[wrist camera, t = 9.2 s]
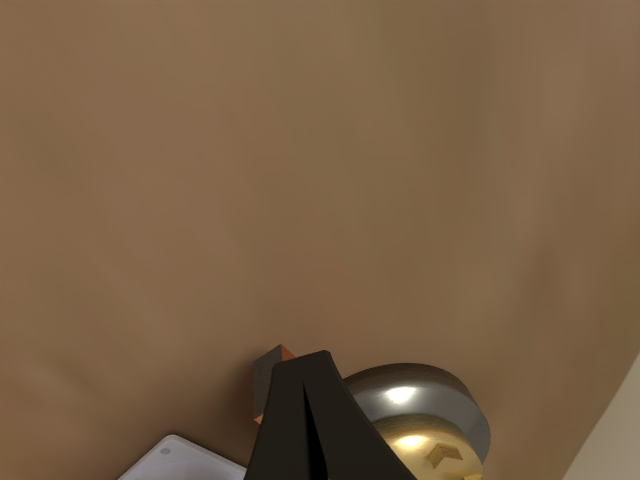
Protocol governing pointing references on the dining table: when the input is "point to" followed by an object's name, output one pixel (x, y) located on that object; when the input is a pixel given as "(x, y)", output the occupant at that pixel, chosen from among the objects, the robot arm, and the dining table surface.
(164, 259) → the dining table surface
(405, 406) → the rounded grey metal base
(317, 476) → the robot arm
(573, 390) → the dining table surface
